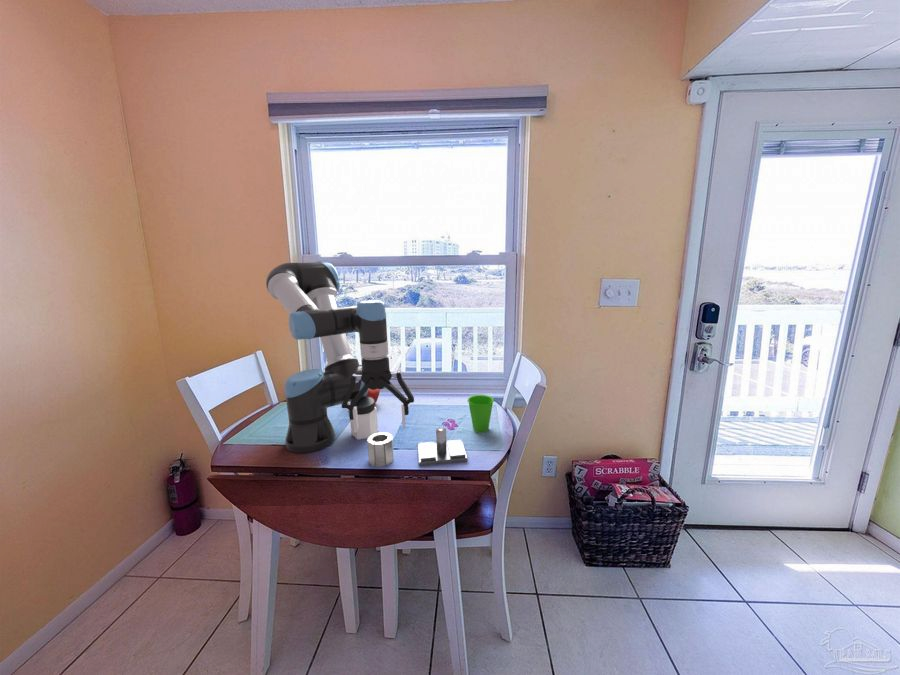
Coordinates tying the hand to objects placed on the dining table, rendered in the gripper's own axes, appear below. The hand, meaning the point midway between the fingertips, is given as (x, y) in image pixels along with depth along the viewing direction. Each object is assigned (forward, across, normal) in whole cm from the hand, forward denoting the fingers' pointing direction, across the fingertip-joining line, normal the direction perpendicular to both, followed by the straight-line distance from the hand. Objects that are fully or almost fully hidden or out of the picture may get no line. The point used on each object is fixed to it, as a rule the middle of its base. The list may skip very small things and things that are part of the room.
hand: (380, 427), depth 101 cm
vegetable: (+10, -8, +42) cm, 44 cm away
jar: (+10, -7, +18) cm, 22 cm away
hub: (+10, 0, 0) cm, 10 cm away
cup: (+11, +33, +14) cm, 37 cm away
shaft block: (+10, +18, 0) cm, 20 cm away
